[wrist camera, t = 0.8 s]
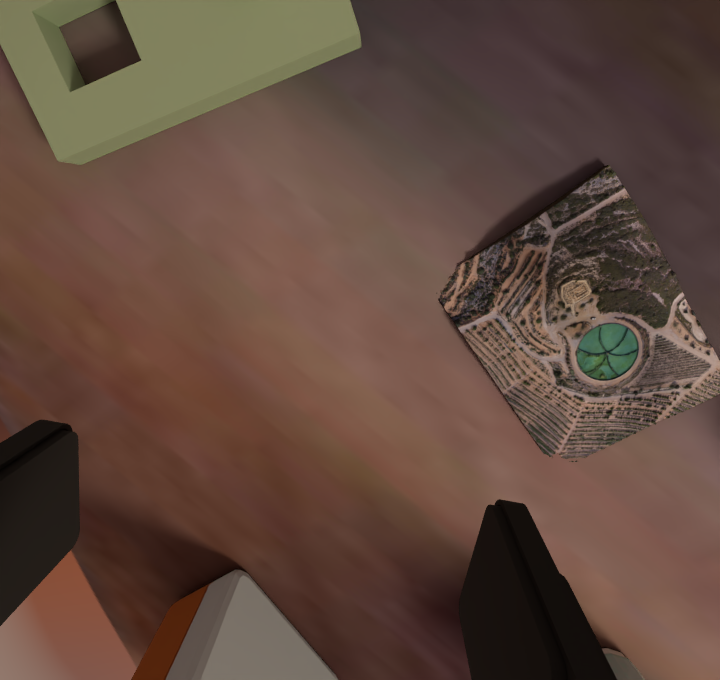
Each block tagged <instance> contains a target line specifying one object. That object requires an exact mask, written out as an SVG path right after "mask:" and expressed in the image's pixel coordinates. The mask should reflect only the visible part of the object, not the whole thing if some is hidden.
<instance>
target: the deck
mask: <svg viewBox="0 0 720 680" xmlns="http://www.w3.org/2000/svg"><path fill="white" fill-rule="evenodd" d="M113 1H115V0H0V45H1V47H2V49H3V51H4V53H5V55H6V57H7V59H8V61H9V63H10V65H11V67H12V69H13V71H14V73H15V75H16V77H17V79H18V81H19V83H20V85H21V87H22V89H23V91H24V93H25V96H26V98H27V100H28V102H29V104H30V106H31V108H32V110H33V112H34V114H35V116H36V118H37V120H38V122H39V124H40V126H41V128H42V130H43V132H44V134H45V136H46V138H47V140H48V142H49V144H50V146H51V148H52V150H53V152H54V154H55V156H56V158H57V160H58V161H60V162H67V163H73V164H79V165H82V164H85V163H87V162H89V161H92V160H94V159H96V158H99V157H101V156H104V155H106V154H108V153H111V152H113V151H116V150H118V149H120V148H123V147H125V146H127V145H130V144H132V143H135V142H137V141H139V140H142V139H144V138H146V137H149V136H151V135H154V134H156V133H158V132H161V131H163V130H166V129H168V128H170V127H173V126H175V125H177V124H180V123H182V122H185V121H187V120H189V119H192V118H194V117H196V116H199V115H201V114H204V113H206V112H208V111H211V110H213V109H215V108H218V107H220V106H223V105H225V104H227V103H230V102H232V101H235V100H237V99H239V98H242V97H244V96H246V95H249V94H251V93H254V92H256V91H258V90H261V89H263V88H265V87H268V86H270V85H273V84H275V83H277V82H280V81H282V80H285V79H287V78H289V77H292V76H294V75H296V74H299V73H301V72H304V71H306V70H308V69H311V68H313V67H315V66H318V65H320V64H323V63H325V62H327V61H330V60H332V59H335V58H337V57H339V56H342V55H344V54H346V53H349V52H351V51H354V50H356V49H358V48H361V38H360V32H359V28H358V25H357V22H356V19H355V15H354V12H353V9H352V6H351V2H350V0H116V2H117V4H118V7H119V9H120V11H121V14H122V16H123V18H124V21H125V23H126V25H127V28H128V30H129V32H130V35H131V37H132V40H133V42H134V44H135V47H136V49H137V51H138V54H139V56H140V58H141V61H139V62H137V63H135V64H132V65H130V66H128V67H126V68H123V69H121V70H119V71H117V72H114V73H112V74H110V75H108V76H106V77H103V78H101V79H99V80H97V81H94V82H92V83H90V84H88V85H85V83H84V81H83V78H82V76H81V74H80V72H79V70H78V68H77V65H76V63H75V61H74V59H73V57H72V54H71V52H70V50H69V48H68V46H67V44H66V41H65V39H64V37H63V35H62V33H61V31H60V28H59V27H60V26H62V25H64V24H66V23H68V22H71V21H73V20H75V19H77V18H79V17H81V16H83V15H85V14H88V13H90V12H92V11H94V10H96V9H98V8H100V7H102V6H104V5H107V4H109V3H111V2H113Z"/></svg>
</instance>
